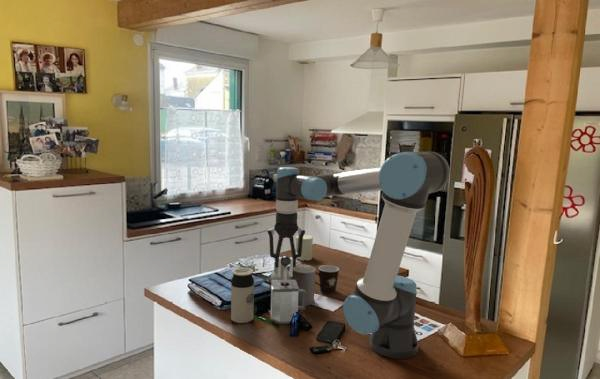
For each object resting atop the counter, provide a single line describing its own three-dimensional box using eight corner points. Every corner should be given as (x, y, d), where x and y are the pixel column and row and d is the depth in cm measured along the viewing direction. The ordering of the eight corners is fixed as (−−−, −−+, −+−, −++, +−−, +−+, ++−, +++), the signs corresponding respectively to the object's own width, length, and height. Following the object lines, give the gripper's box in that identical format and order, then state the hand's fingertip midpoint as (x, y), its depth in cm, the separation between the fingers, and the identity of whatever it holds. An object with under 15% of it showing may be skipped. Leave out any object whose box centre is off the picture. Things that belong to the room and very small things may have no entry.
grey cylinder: (285, 302, 169) (287, 266, 167) (296, 294, 178) (297, 259, 175) (308, 308, 165) (310, 271, 163) (318, 299, 174) (319, 263, 171)
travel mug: (226, 317, 155) (227, 269, 152) (245, 312, 160) (246, 265, 157) (238, 325, 149) (239, 276, 146) (257, 319, 154) (258, 271, 151)
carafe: (306, 324, 152) (307, 288, 150) (271, 325, 150) (272, 289, 148) (302, 311, 161) (303, 278, 159) (269, 313, 160) (269, 279, 158)
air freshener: (289, 289, 183) (289, 266, 182) (269, 288, 184) (270, 266, 182) (290, 280, 194) (290, 258, 193) (272, 279, 194) (272, 258, 193)
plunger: (295, 308, 152) (296, 259, 149) (275, 308, 151) (276, 259, 148) (292, 299, 159) (294, 253, 156) (273, 300, 158) (274, 253, 155)
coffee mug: (338, 287, 186) (339, 265, 185) (337, 295, 178) (339, 272, 176) (311, 286, 188) (312, 264, 186) (310, 293, 179) (310, 270, 178)
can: (304, 254, 234) (305, 232, 232) (315, 258, 227) (316, 236, 225) (291, 257, 228) (292, 235, 226) (302, 261, 221) (303, 239, 219)
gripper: (308, 209, 154) (306, 271, 158) (262, 209, 152) (261, 272, 155) (312, 213, 147) (309, 279, 151) (263, 213, 145) (262, 280, 148)
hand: (285, 275), depth 153 cm, fingers closed on plunger, 4 cm apart
